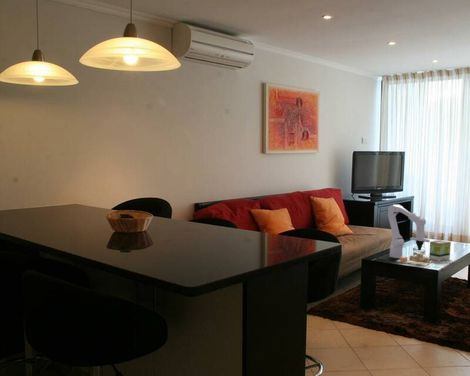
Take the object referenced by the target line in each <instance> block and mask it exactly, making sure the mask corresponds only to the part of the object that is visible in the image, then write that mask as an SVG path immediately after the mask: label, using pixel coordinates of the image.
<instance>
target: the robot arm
mask: <svg viewBox="0 0 470 376" xmlns="http://www.w3.org/2000/svg"><path fill="white" fill-rule="evenodd" d="M387 210H388V211H387V212H388V213H387V216H388V217H387V218H388V221H389V225H390V229H391V233H392V237H391V246H390V248H389V258H394V259H400V257H402V256H403V246H404V245H405V240H404V239H403V236H402V235H401V234H400V231H399V227H398V222H397V218H396V216H397V215H398V214H399V213H401V214H403V215H405V216H406V217H408V220H410V221H412V223H415V227H416V231H415V235H416V236H415V237H410V239H409V240H410V241H415V245H416V246H417V251H421V250H422V247H423V244H424V243H430V242H431V241H430V239H426V238H425V225H426V222H427V221H426V219H425V218H424V217H421V216H419V215H417V213H415V212H412V213H411V211H408V209H406V208H404V206H402V205H401V204H399V203H397V204H390V205H389V206H388V208H387Z"/></svg>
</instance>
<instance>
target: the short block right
mask: <svg viewBox="0 0 470 376" xmlns="http://www.w3.org/2000/svg"><path fill="white" fill-rule="evenodd" d="M423 263H429V264H430V263H431V259H430V258H429V257H427V256H423Z"/></svg>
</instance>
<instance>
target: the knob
mask: <svg viewBox="0 0 470 376" xmlns="http://www.w3.org/2000/svg"><path fill="white" fill-rule="evenodd" d="M399 260H400V261H407V260H408V256H404V255H402V257H400V258H399Z"/></svg>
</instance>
